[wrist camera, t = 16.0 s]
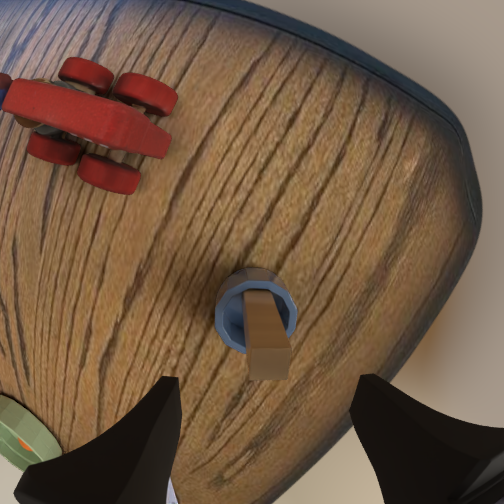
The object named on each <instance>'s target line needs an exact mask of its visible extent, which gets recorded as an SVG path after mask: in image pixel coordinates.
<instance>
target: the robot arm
mask: <svg viewBox="0 0 504 504" xmlns="http://www.w3.org/2000/svg"><path fill="white" fill-rule="evenodd" d="M349 412H350V415H351V419H352V422H353V425H354V428H355V431H356V433H357V435H358V437H359V440H360V442H361V444H362V446H363V448H364V450H365V452H366V453H367V456H368V458H369V460H370V462H371V464H372V466H373V468H374V471H375V473H376V476H377V479H378V482H379V485H380V488H381V492H382V495H383V499H384V503H385V504H504V428H496V427H488V426H482V425H477V424H472V423H468V422H465V421H462V420H458V419H455V418H452V417H450V416H447V415H445V414H443V413H440V412H438V411H436V410H433V409H431V408H430V407H428V406H426V405H424V404H422V403H420V402H419V401H417V400H415V399H413V398H412V397H410V396H408V395H407V394H405V393H404V392H402V391H401V390H399V389H397V388H396V387H394V386H393V385H391V384H390V383H388V382H387V381H385V380H384V379H382V378H380V377H379V376H377V375H375V374H365V375H360V379H359V382H358V385H357V389H356V392H355V395H354V398H353V401H352V404H351V407H350V410H349ZM181 420H182V409H181V400H180V390H179V380H178V377H169V376H162V377H161V378H160V379H159V380H158V381H157V382H156V384H155V385H154V386H153V387H152V388H151V389H150V391H149V392H148V393H147V394H146V395H145V396H144V397H143V398H142V399H141V400H140V401H139V403H138V404H137V405H136V406H135V407H134V408H133V409H132V410H131V411H129V412H128V413H127V414H126V415H125V416H124V417H123V418H122V419H121V420H120V421H118V422H117V423H116V424H115V425H113V426H112V427H111V428H110V429H108V430H107V431H105V432H104V433H103V434H101V435H100V436H98V437H97V438H95V439H93V440H92V441H90V442H88V443H87V444H85V445H83V446H81V447H79V448H77V449H75V450H73V451H71V452H69V453H66V454H64V455H61V456H59V457H56V458H53V459H50V460H47V461H43V462H40V463H36V464H32V465H28V467H27V468H26V470H25V471H24V473H23V475H22V477H21V479H20V481H19V482H18V485H17V487H16V488H15V490H14V496H15V498H16V500H17V501H18V502H19V503H20V504H178V502H177V499H176V496H175V492H174V489H173V485H172V482H171V478H170V474H171V470H172V466H173V462H174V457H175V453H176V449H177V445H178V441H179V437H180V429H181Z"/></svg>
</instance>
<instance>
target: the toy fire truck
mask: <svg viewBox="0 0 504 504" xmlns="http://www.w3.org/2000/svg"><path fill="white" fill-rule="evenodd" d="M58 77H59V78H60V79H61V80H62V81H54V82H52V81H50V80H48V79H45V78H36V79H33V80H27V79H21V78H18V79H15V80H11V77H10V76H9V75H8V74H4V73H0V110H1V109H2V110H3V111H5V112H9V113H11V114H14V117H15V119H16V121H17V122H18V123H19V124H20V125H22V126H24V127H26V128H34V129H35V130H36V131H34V132H33V133H32V134H31V137H30V140H29V143H28V146H27V151H28V153H29V154H31V155H32V156H34V157H37V158H39V159H42V160H45V161H47V162H51V163H55V164H60V165H66V166H69V165H73V164H75V162H76V160H77V157H78V155H79V152H80V148H81V146H80V145H79V144H78V143H76V142H74V141H72V140H69V139H66V138H65V135H66V133H67V132H69V133H70V134H71V135H74V136H77V137H79V138H82V139H84V140H87V141H90V142H93V143H95V144H98V145H100V146H103V147H106V148H109V149H111V150H110V153H109V155H108V158H107V157H104V156H101V155H98V154H93V153H89V154H84V155H83V156H82V159H81V162H80V165H79V167H78V172H77V174H78V176H79V177H80V178H81V179H82V180H83V181H85V182H87V183H89V184H91V185H93V186H96V187H98V188H101V189H104V190H107V191H110V192H114V193H119V194H124V195H130V194H133V193H134V192H135V190H136V187H137V185H138V182H139V180H140V177H141V173H140V172H139V171H138V170H137V169H135V168H133V167H131V166H129V165H127V164H124V163H122V160H123V158H124V156H125V154H126V152H130V153H138V154H142V155H146V156H150V157H154V158H158V159H163V158H164V157H165V155H166V152H167V150H168V147H169V145H170V142H171V139H172V138H171V135H170V134H169V133H167V132H166V131H164V130H162V129H161V128H159V127H158V126H156V125H154V124H153V123H151V122H150V120H149V118H148V117H146V116H145V115H144V112H148V113H151V114H154V115H159V116H168V115H170V113H171V112H172V110H173V108H174V106H175V104H176V102H177V100H178V95H177V93H176V92H175V91H174V90H173V89H172V88H170V87H169V86H167V85H166V84H164V83H162V82H160V81H158V80H156V79H153V78H151V77H148V76H145V75H141V74H137V73H124V74H122V75H121V76H120V77H119V79H118V81H117V83H116V85H115V87H114V88H113V92H112V93H113V95H114V97H115V98H117V99H118V100H120V101H121V102H123V103H125V104H123V103H121V102H117V101H113V100H110V99H106V98H103V97H99V96H96V95H95V93H96V94H105V93H106V92H107V91H108V89H109V87H110V85H111V83H112V81H113V79H114V75H113V73H112V72H111V71H109V70H108V69H107V68H105V67H103V66H101V65H99V64H97V63H94V62H92V61H90V60H86V59H83V58H79V57H70V58H67V59H66V60H65V62H64V64H63V65H62V67H61V69H60V71H59V73H58ZM63 81H64V82H63ZM126 104H128V105H130V106H131V107H130V106H128V105H126Z"/></svg>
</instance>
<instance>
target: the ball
mask: <svg viewBox="0 0 504 504" xmlns="http://www.w3.org/2000/svg"><path fill="white" fill-rule="evenodd" d="M18 440H19V443H20V444H21V446H22V447H23V448H25V449H26V450H28V451H32V450H31V448H30V447H29V446H28V445H26V444H25V443H24V442H23V441H22V440H21V439H20V438H19V437H18Z"/></svg>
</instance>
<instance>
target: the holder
mask: <svg viewBox="0 0 504 504" xmlns="http://www.w3.org/2000/svg"><path fill="white" fill-rule="evenodd" d="M249 288H256V289H269V290H270V291H271V294H272V296H273V299H274V302H275V304H276V307H277V310H278V312H279V315H280V318H281V321H282V323H283V326H284V329H285V331H286V334H287V337H288V338H289V337H290V335H291V334H292V333H293V332H294V330H295V327H296V319H297V308H296V306H295V304H294V302H293V299H292V297H291V295H290V293H289V291H288V290H287V288H286V286H285V284H284V282H283V280H282V279H281V278H279V277H278V276H277V275H276V274H274V273H273V272H271V271H269V270H266V269H263V268H258V267H249V268H244V269H241V270H238V271H236V272H234V273H233V274H231V275H230V276H229V277H228V278H227V279H226V280H225V281H224V282H223V283H222V285H221V287H220V289H219V291H218V293H217V298H216V305H215V329H216V330H217V332H218V334H219V335H220V337H221V338H222V340H223V342H224V343H225V344H226V345H227V346H229V347H231V348H233V349H235V350H237V351H239V352H241V353H244V354H246V343H245V332H244V321H243V310H242V292H243V291H245V290H247V289H249Z"/></svg>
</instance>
